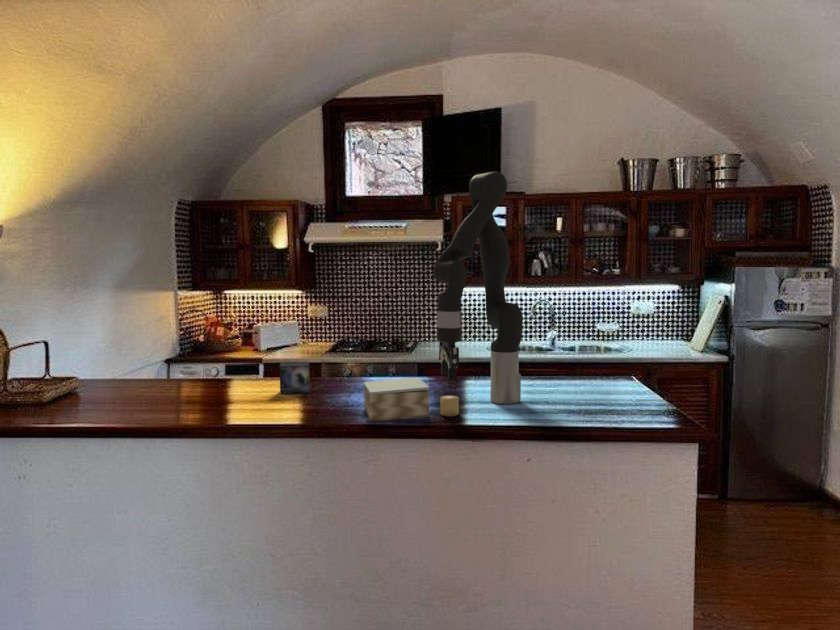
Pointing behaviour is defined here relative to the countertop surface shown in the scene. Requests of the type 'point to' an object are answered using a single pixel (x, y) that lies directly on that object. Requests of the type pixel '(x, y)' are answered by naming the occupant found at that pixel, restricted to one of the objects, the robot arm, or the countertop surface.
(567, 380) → the countertop surface
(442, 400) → the tan rounded piece
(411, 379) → the lid
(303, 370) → the small box
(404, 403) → the crate
